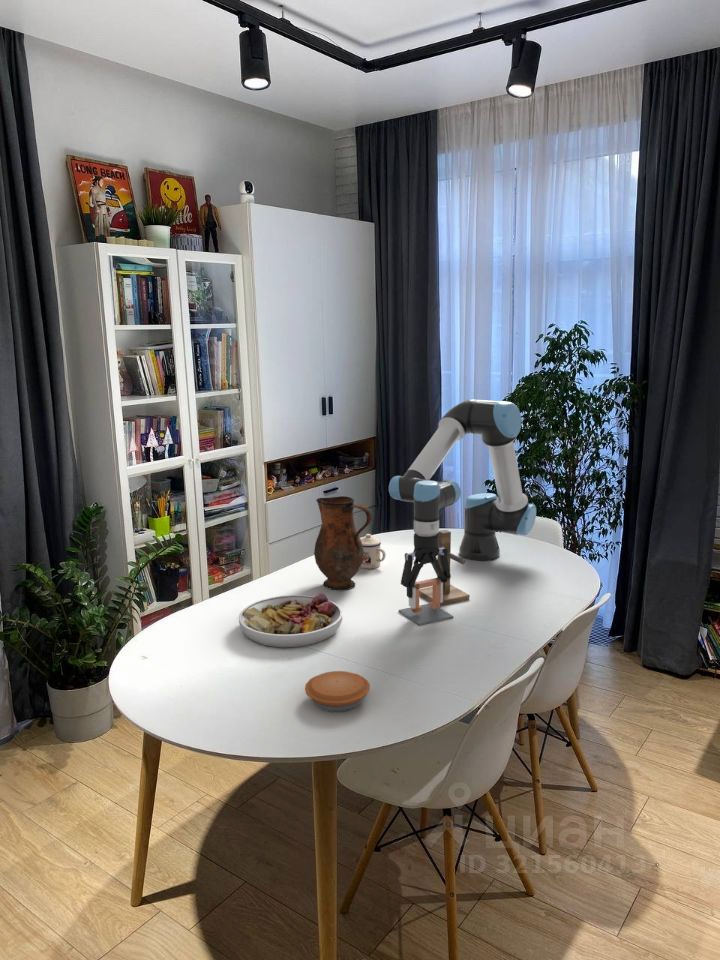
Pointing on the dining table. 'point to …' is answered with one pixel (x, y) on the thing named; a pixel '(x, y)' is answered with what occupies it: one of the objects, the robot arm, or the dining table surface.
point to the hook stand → (450, 592)
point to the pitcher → (339, 542)
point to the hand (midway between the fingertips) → (425, 604)
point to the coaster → (426, 615)
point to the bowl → (291, 620)
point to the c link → (436, 593)
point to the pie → (337, 690)
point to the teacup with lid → (371, 552)
